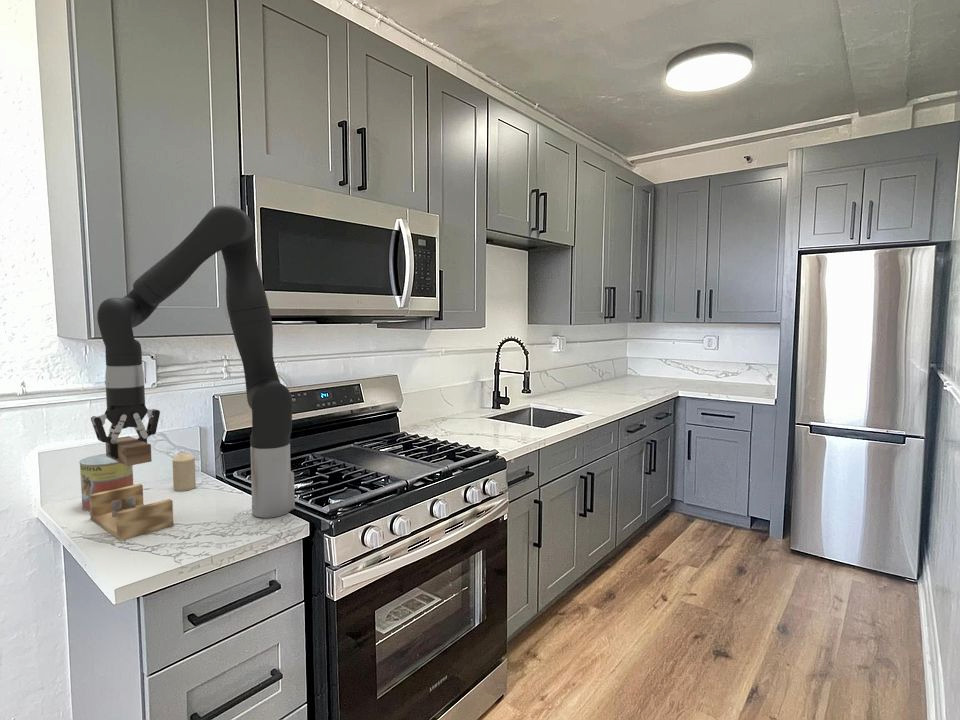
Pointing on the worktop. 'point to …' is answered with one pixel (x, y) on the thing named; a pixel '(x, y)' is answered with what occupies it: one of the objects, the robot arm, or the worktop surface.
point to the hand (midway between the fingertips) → (128, 455)
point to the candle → (184, 472)
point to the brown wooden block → (132, 451)
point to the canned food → (102, 476)
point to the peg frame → (129, 512)
